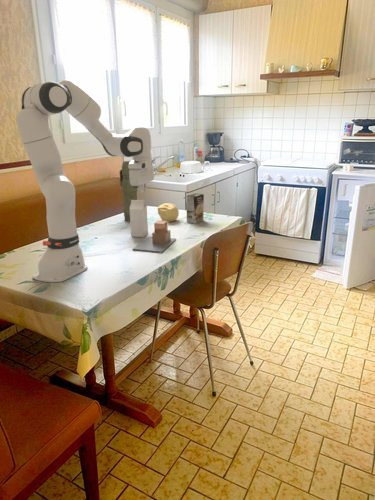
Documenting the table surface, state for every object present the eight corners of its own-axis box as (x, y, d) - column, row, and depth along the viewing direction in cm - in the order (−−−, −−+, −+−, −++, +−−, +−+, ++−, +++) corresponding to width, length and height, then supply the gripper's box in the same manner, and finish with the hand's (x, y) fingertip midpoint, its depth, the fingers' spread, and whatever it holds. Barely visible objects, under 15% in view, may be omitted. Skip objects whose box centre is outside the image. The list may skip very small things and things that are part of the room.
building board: (162, 253, 175) (161, 241, 173) (132, 250, 179) (131, 238, 177) (176, 240, 193) (175, 229, 191) (148, 237, 197) (148, 227, 195)
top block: (164, 233, 184) (163, 223, 182) (154, 232, 185) (154, 222, 184) (167, 230, 188) (167, 221, 187) (158, 229, 190) (157, 220, 188)
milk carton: (144, 237, 197) (142, 201, 191) (131, 236, 199) (128, 201, 192) (148, 233, 204) (146, 198, 198) (135, 232, 205) (133, 198, 199)
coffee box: (195, 223, 221) (195, 196, 215) (186, 222, 224) (186, 195, 219) (203, 220, 228) (203, 194, 222) (195, 219, 231) (195, 193, 226)
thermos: (126, 217, 237) (122, 160, 226) (143, 218, 234) (140, 160, 222) (119, 220, 229) (115, 162, 218) (137, 222, 226) (133, 162, 214)
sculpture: (155, 221, 227) (154, 203, 223) (167, 217, 236) (167, 200, 233) (170, 224, 221) (170, 206, 217) (182, 219, 230) (182, 202, 227)
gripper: (145, 160, 187) (145, 188, 191) (126, 165, 168) (127, 195, 173) (156, 161, 185) (157, 189, 190) (139, 165, 167) (140, 196, 171)
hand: (143, 192), depth 181 cm, fingers closed
